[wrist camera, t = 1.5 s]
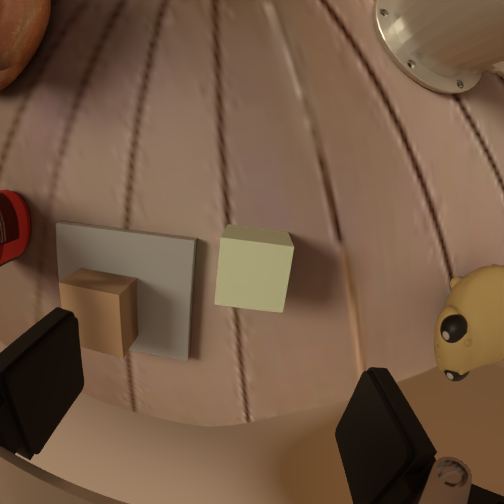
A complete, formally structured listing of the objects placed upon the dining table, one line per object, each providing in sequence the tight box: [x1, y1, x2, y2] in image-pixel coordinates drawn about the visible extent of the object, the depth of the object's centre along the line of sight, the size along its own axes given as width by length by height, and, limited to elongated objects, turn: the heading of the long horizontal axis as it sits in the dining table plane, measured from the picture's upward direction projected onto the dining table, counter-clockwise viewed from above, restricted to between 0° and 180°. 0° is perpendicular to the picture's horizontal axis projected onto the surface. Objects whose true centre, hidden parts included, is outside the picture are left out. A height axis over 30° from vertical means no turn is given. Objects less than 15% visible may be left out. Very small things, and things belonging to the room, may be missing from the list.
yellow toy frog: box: [434, 264, 504, 381], centre depth 22 cm, size 10×12×11 cm
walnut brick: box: [59, 268, 138, 358], centre depth 25 cm, size 6×6×4 cm
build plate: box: [56, 221, 197, 361], centre depth 27 cm, size 14×12×1 cm
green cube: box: [215, 224, 294, 313], centre depth 24 cm, size 5×5×5 cm
